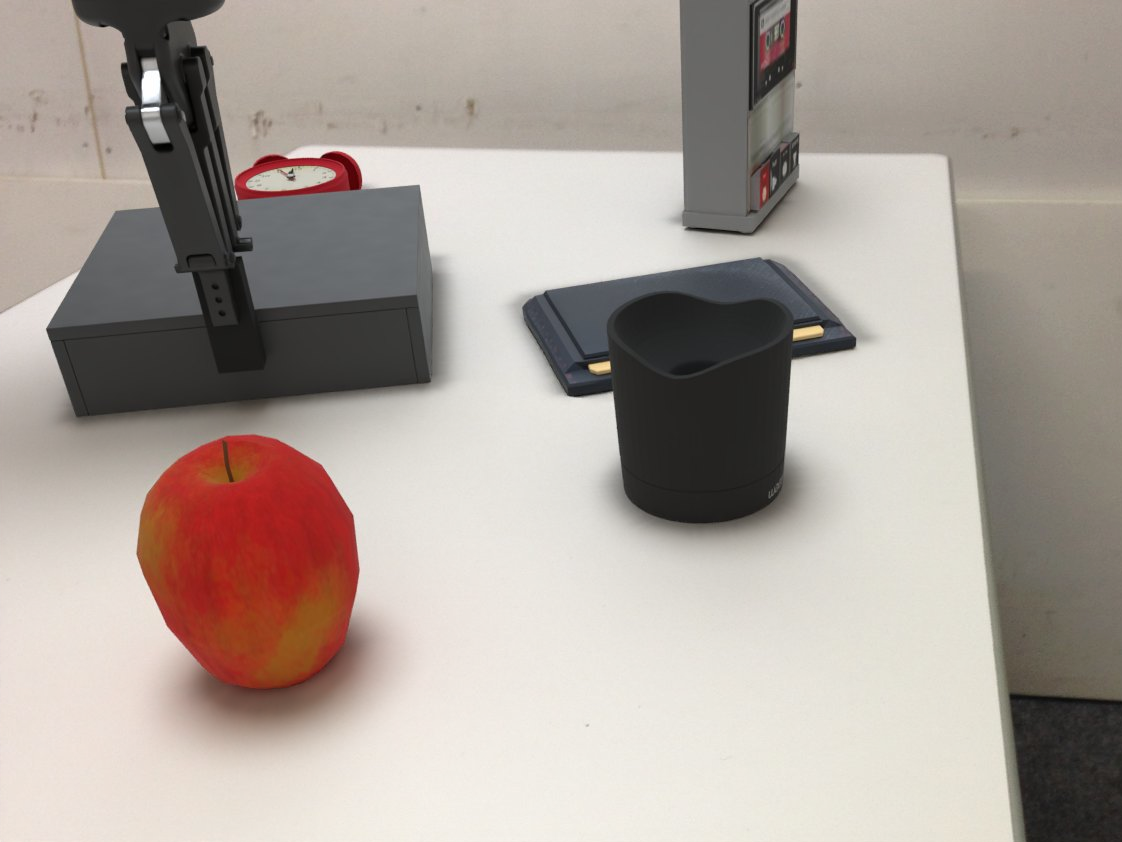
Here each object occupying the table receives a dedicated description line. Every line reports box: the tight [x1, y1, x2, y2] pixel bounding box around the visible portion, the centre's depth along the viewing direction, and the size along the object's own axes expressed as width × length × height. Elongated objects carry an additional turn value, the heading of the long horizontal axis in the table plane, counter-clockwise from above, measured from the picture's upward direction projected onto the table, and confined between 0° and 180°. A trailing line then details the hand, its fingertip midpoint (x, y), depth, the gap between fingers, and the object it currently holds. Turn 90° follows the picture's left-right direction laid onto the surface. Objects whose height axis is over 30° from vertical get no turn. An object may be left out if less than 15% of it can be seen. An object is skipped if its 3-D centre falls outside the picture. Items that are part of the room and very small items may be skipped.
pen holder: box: [607, 291, 794, 525], centre depth 67 cm, size 9×9×10 cm
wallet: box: [521, 256, 857, 397], centre depth 87 cm, size 20×2×15 cm
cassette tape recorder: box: [679, 0, 800, 234], centre depth 100 cm, size 14×6×25 cm, turn 159°
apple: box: [135, 433, 361, 690], centre depth 56 cm, size 9×9×12 cm
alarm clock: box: [234, 150, 363, 200], centre depth 108 cm, size 10×6×15 cm
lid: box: [45, 184, 433, 418], centre depth 87 cm, size 22×21×6 cm
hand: (242, 366), depth 78 cm, fingers closed
